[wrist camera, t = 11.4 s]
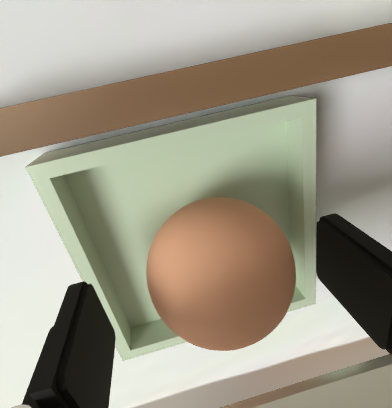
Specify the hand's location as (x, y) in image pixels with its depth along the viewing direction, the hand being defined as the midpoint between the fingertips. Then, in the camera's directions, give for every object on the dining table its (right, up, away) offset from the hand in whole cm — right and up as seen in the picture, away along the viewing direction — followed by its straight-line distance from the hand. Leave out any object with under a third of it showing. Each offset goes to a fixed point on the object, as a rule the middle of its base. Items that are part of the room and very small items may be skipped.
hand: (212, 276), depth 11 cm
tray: (-1, +2, +3) cm, 4 cm away
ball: (-1, +1, +3) cm, 3 cm away
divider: (-2, +8, 0) cm, 8 cm away
